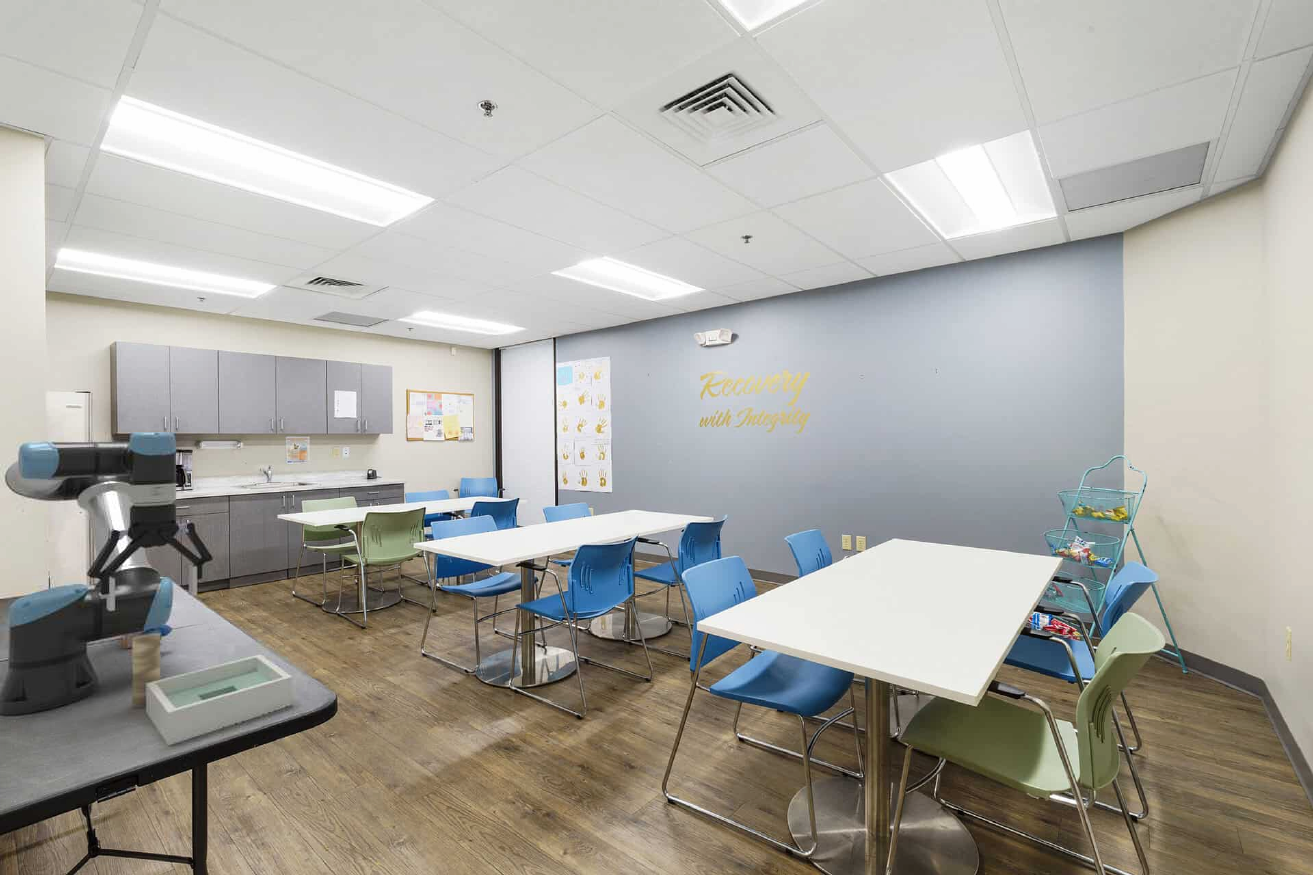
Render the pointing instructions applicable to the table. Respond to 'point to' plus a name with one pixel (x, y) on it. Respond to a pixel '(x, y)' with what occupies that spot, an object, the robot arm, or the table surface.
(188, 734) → the bore box
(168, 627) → the grapes
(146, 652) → the peg
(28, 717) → the table surface
